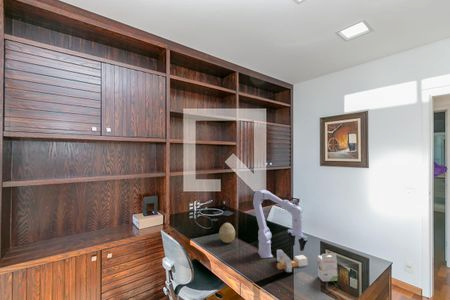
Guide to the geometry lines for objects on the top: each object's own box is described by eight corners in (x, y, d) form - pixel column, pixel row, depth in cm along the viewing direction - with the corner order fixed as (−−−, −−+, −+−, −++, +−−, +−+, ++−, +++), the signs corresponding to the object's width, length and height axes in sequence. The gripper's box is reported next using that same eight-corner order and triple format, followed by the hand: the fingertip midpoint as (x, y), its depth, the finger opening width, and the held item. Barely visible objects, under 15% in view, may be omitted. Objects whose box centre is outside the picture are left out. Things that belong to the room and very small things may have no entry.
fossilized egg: (225, 247, 156) (224, 226, 156) (216, 241, 167) (216, 222, 167) (238, 242, 163) (238, 223, 163) (229, 237, 174) (229, 219, 174)
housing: (277, 260, 136) (276, 249, 136) (281, 259, 136) (281, 249, 136) (286, 272, 121) (286, 260, 122) (291, 271, 122) (291, 260, 122)
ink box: (332, 275, 117) (332, 249, 118) (337, 281, 112) (337, 253, 113) (317, 276, 117) (317, 249, 117) (322, 281, 112) (321, 253, 112)
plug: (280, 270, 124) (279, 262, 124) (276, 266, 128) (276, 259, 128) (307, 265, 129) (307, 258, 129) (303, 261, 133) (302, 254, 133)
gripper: (284, 223, 136) (284, 244, 136) (301, 230, 123) (301, 254, 122) (292, 222, 139) (292, 242, 139) (309, 228, 126) (310, 251, 126)
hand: (297, 247), depth 131 cm, fingers open, 7 cm apart
